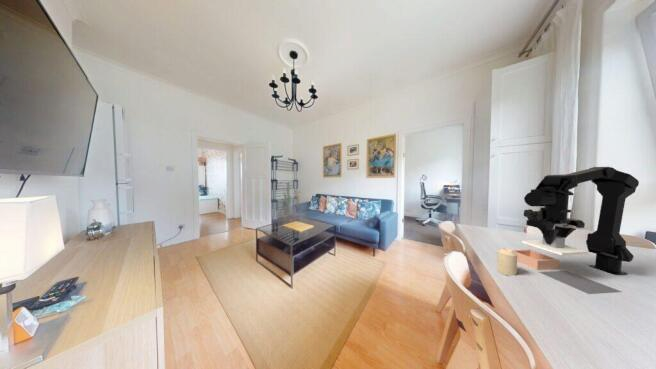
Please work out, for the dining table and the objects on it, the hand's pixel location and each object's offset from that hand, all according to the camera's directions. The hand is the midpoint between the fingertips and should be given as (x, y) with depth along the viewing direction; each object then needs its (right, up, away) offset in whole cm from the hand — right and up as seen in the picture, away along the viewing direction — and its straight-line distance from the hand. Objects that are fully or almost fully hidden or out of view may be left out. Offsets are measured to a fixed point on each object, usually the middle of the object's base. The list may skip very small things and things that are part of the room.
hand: (553, 243), depth 71 cm
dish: (0, -12, +7) cm, 13 cm away
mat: (+1, -12, -6) cm, 14 cm away
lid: (0, -2, 0) cm, 2 cm away
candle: (-19, -12, 0) cm, 23 cm away
